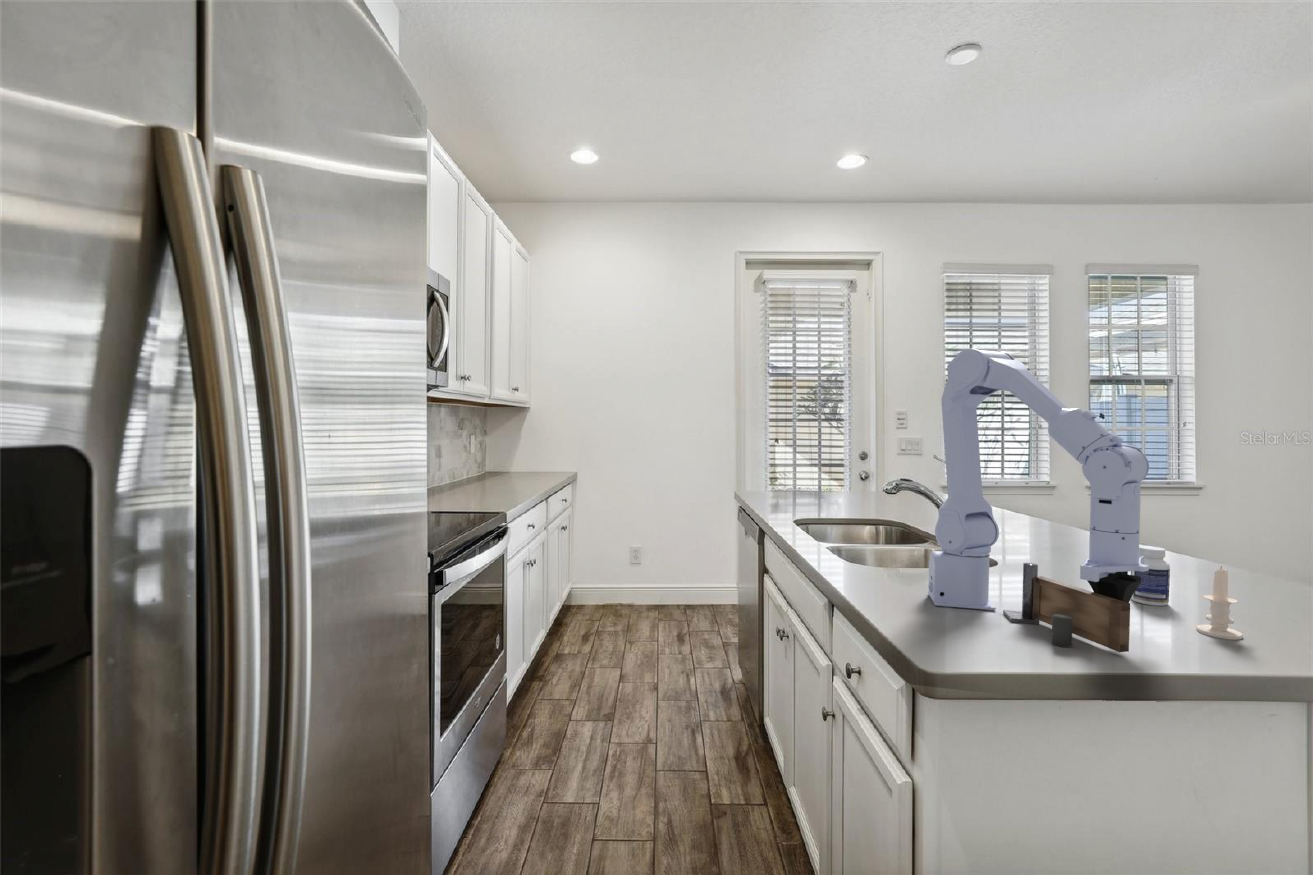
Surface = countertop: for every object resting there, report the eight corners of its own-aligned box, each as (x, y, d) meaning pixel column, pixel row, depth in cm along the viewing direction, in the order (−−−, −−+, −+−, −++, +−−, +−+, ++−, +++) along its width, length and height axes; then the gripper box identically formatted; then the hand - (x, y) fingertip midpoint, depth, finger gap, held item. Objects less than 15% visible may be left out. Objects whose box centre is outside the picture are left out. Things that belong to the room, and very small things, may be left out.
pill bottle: (1176, 607, 106) (1178, 551, 105) (1140, 605, 107) (1142, 550, 106) (1157, 598, 111) (1159, 545, 111) (1123, 596, 112) (1125, 543, 112)
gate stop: (1055, 646, 87) (1056, 618, 87) (1049, 640, 89) (1049, 613, 89) (1074, 648, 86) (1075, 620, 86) (1067, 642, 89) (1068, 614, 89)
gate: (1032, 617, 97) (1033, 576, 97) (1040, 617, 98) (1041, 576, 97) (1119, 652, 83) (1120, 604, 83) (1128, 651, 83) (1130, 603, 83)
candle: (1188, 630, 94) (1191, 563, 94) (1207, 626, 96) (1209, 560, 96) (1231, 642, 90) (1234, 571, 89) (1250, 637, 92) (1252, 568, 91)
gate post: (1011, 622, 97) (1012, 566, 97) (1003, 613, 102) (1004, 559, 101) (1040, 624, 96) (1042, 567, 96) (1031, 615, 101) (1033, 561, 100)
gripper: (1123, 539, 80) (1120, 642, 81) (1170, 530, 88) (1168, 623, 88) (1064, 531, 86) (1062, 626, 87) (1113, 522, 94) (1111, 610, 94)
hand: (1111, 624), depth 88 cm, fingers closed
